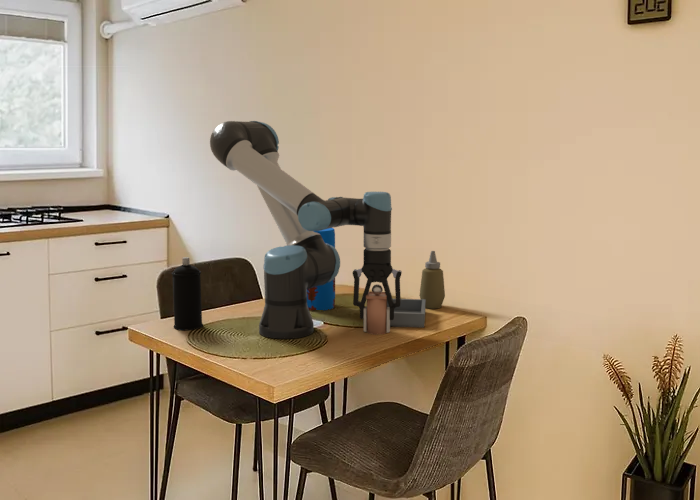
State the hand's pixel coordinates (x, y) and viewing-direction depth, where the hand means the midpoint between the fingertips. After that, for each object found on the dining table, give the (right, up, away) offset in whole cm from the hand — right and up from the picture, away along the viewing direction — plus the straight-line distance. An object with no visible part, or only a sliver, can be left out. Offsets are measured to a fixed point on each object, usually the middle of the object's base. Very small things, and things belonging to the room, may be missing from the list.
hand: (376, 330), depth 201 cm
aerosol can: (-54, 0, +6) cm, 54 cm away
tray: (+7, +2, +14) cm, 16 cm away
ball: (0, +11, -2) cm, 12 cm away
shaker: (0, 0, 0) cm, 0 cm away
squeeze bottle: (+19, +4, +29) cm, 34 cm away
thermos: (-18, +4, +29) cm, 34 cm away
